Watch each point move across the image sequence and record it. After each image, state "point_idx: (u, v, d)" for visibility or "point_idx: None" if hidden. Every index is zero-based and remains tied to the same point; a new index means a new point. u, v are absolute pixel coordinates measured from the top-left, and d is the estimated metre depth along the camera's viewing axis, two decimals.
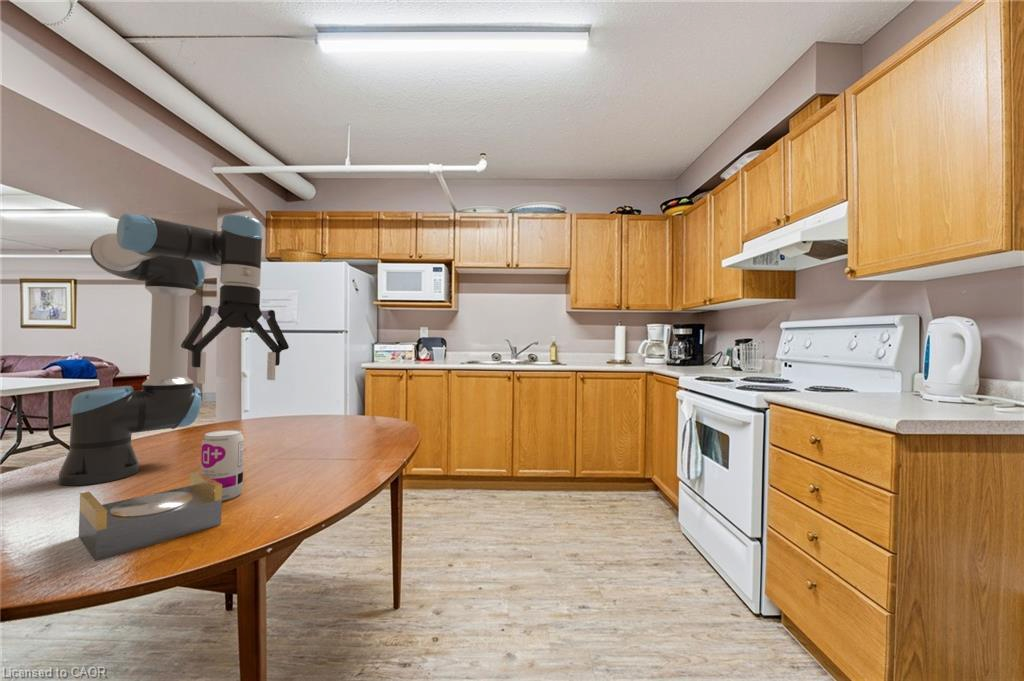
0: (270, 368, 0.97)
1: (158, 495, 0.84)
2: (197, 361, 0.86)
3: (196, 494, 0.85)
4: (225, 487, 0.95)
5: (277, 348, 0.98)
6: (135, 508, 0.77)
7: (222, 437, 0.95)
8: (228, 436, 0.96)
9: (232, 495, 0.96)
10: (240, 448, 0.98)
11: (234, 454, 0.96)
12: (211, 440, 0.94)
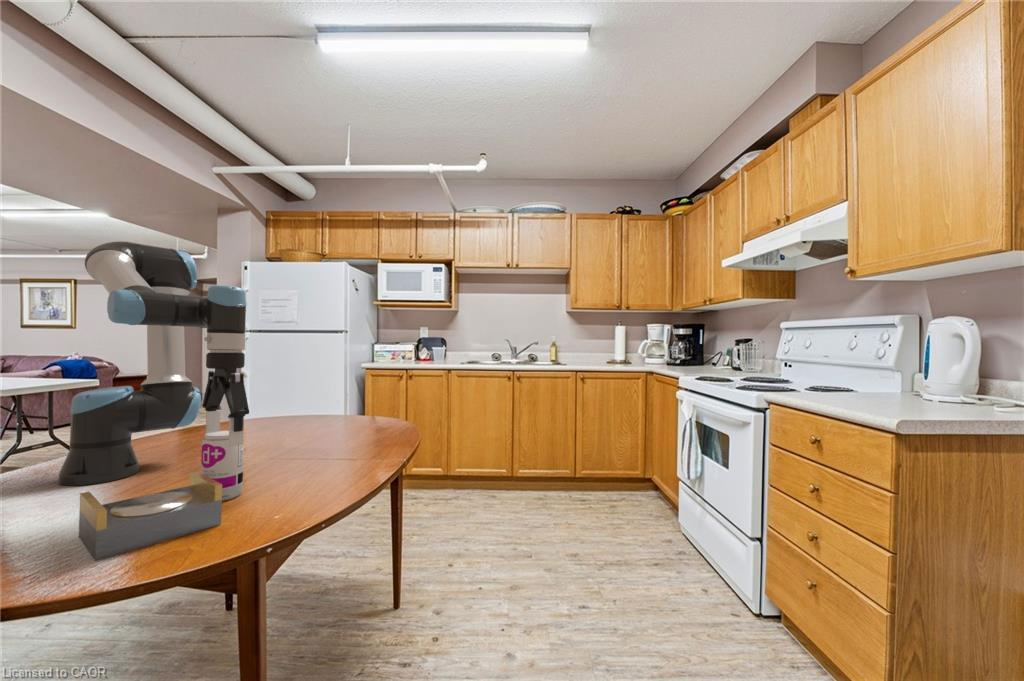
0: None
1: (158, 495, 0.84)
2: None
3: (196, 494, 0.85)
4: (225, 487, 0.95)
5: (231, 413, 0.93)
6: (135, 508, 0.77)
7: (222, 437, 0.95)
8: (228, 436, 0.96)
9: (232, 495, 0.96)
10: (240, 448, 0.98)
11: (234, 454, 0.96)
12: (211, 440, 0.94)
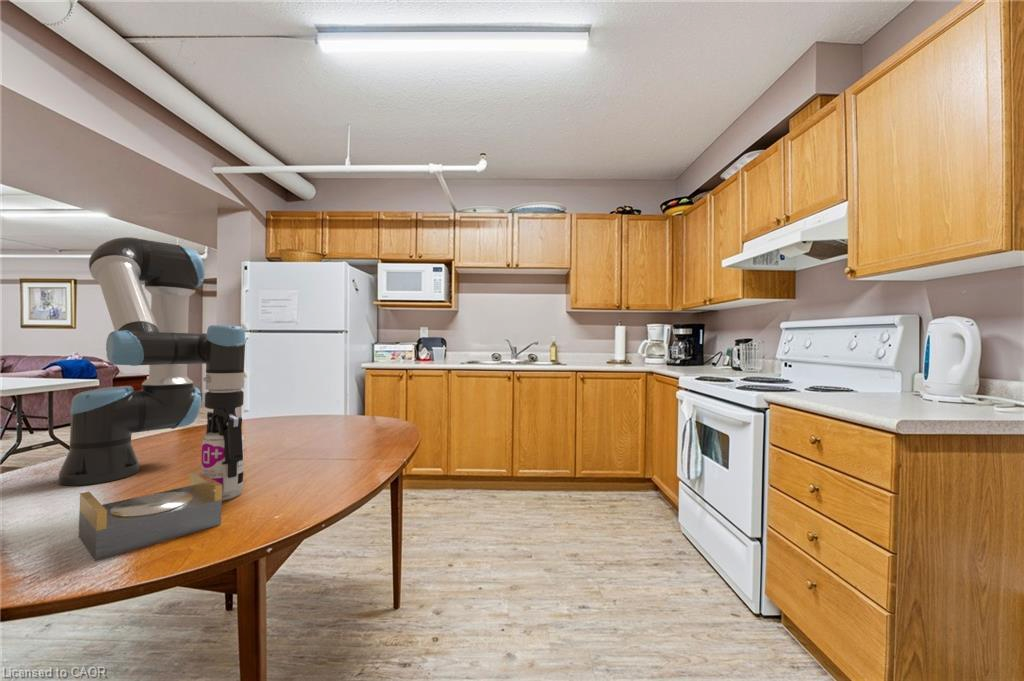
0: None
1: (158, 495, 0.84)
2: None
3: (196, 494, 0.85)
4: None
5: (226, 460, 0.94)
6: (135, 508, 0.77)
7: (222, 437, 0.95)
8: None
9: (232, 495, 0.96)
10: None
11: None
12: (211, 440, 0.94)
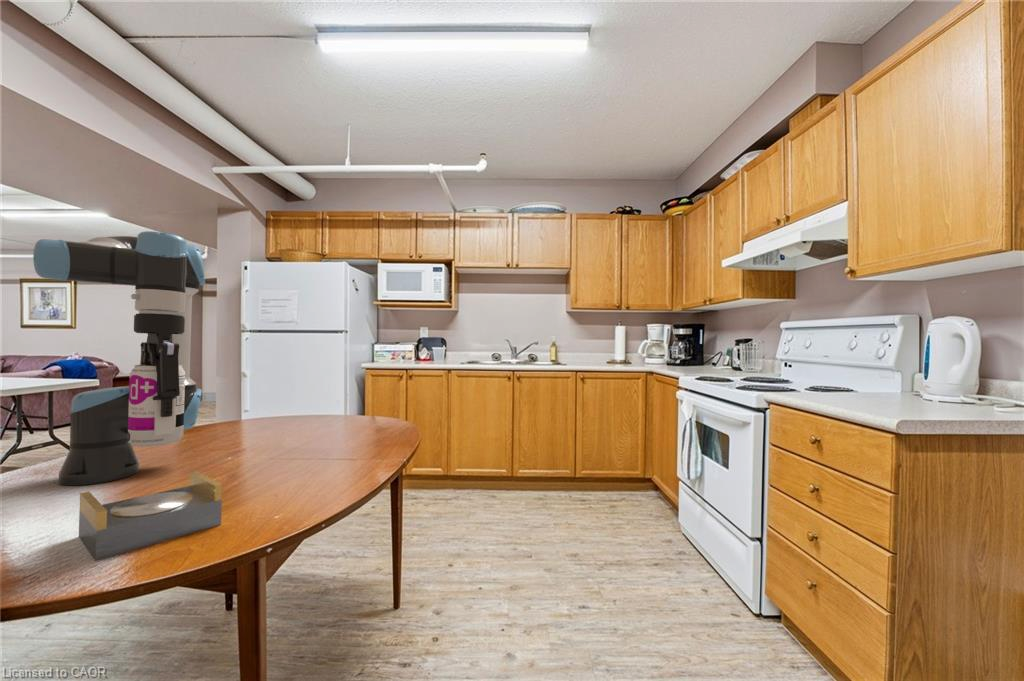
0: None
1: (158, 495, 0.84)
2: None
3: (196, 494, 0.85)
4: None
5: (158, 395, 0.76)
6: (135, 508, 0.77)
7: (155, 368, 0.77)
8: None
9: (168, 440, 0.79)
10: (179, 383, 0.81)
11: None
12: (140, 370, 0.77)
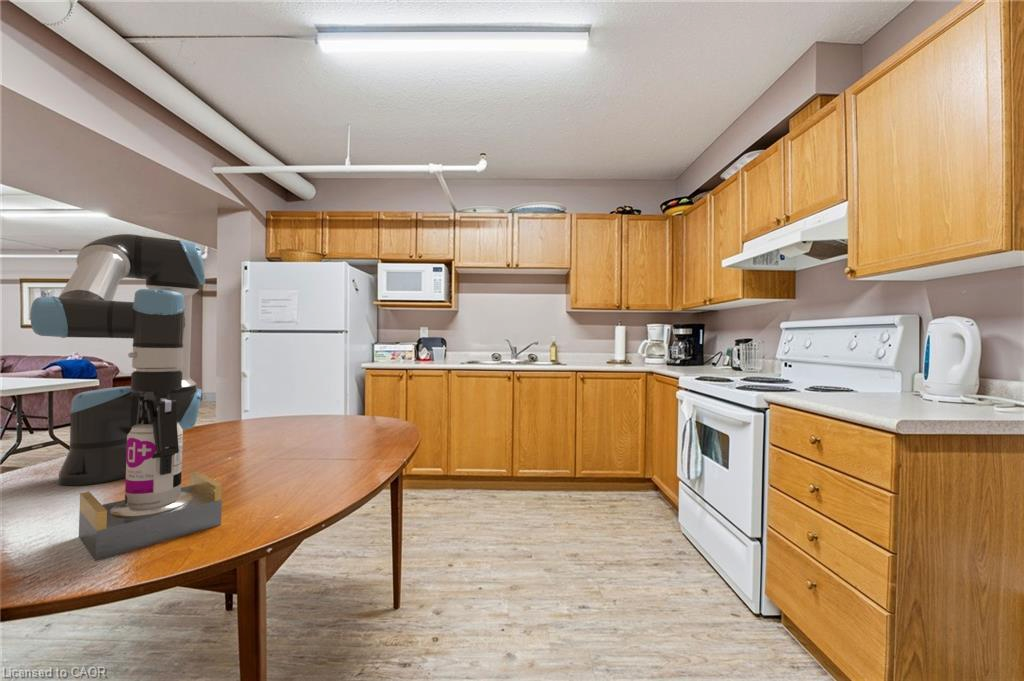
0: None
1: None
2: None
3: (196, 494, 0.85)
4: None
5: (157, 452, 0.75)
6: None
7: (152, 430, 0.77)
8: None
9: (165, 501, 0.78)
10: None
11: None
12: (137, 433, 0.76)
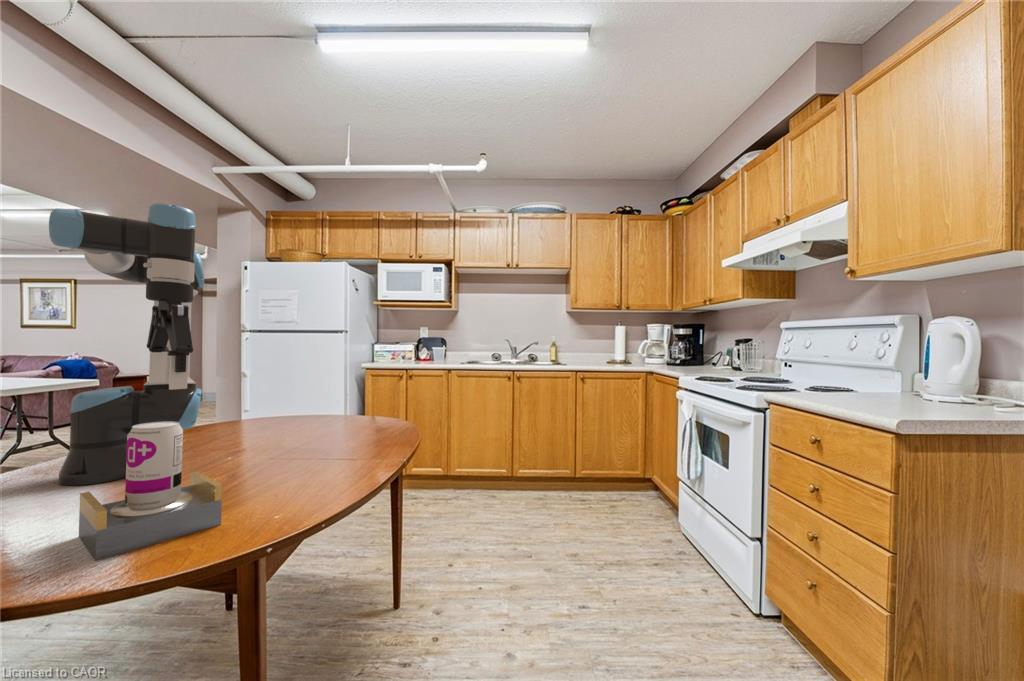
0: None
1: None
2: None
3: (196, 494, 0.85)
4: (156, 491, 0.77)
5: (172, 351, 0.80)
6: None
7: (152, 430, 0.77)
8: (160, 428, 0.78)
9: (165, 501, 0.78)
10: (177, 443, 0.80)
11: (168, 451, 0.79)
12: (137, 433, 0.76)
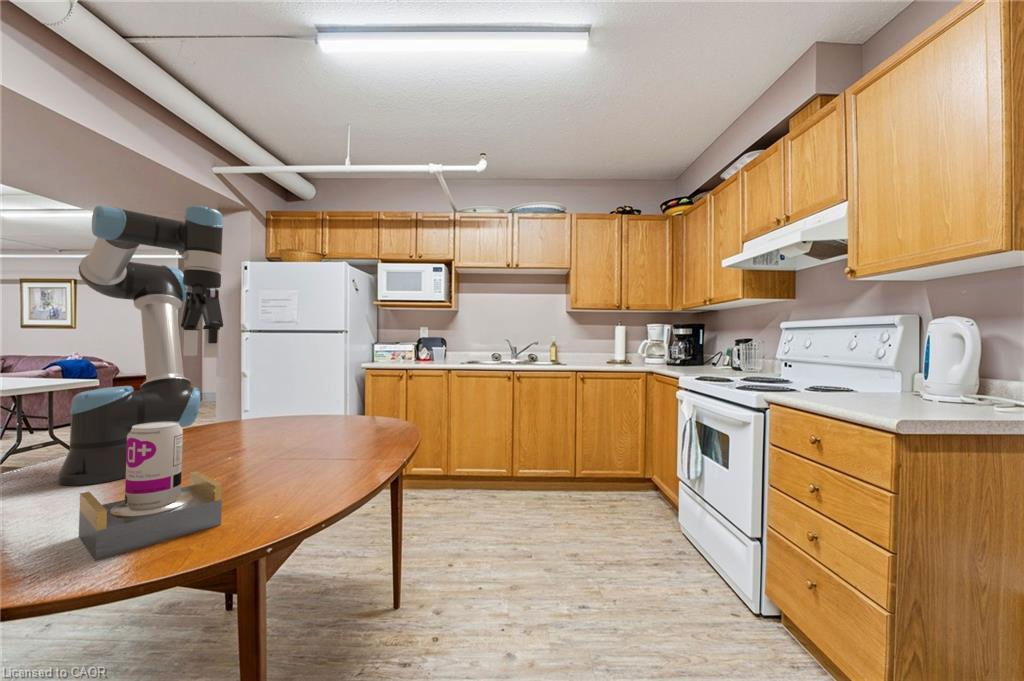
0: None
1: None
2: None
3: (196, 494, 0.85)
4: (156, 491, 0.77)
5: None
6: None
7: (152, 430, 0.77)
8: (160, 429, 0.78)
9: (165, 501, 0.78)
10: (177, 443, 0.80)
11: (168, 451, 0.79)
12: (137, 433, 0.76)
